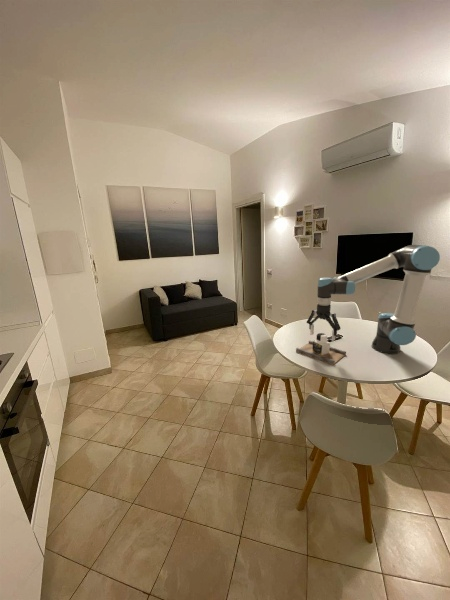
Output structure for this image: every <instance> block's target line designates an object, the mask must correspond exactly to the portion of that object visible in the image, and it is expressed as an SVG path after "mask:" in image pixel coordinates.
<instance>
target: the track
mask: <svg viewBox="0 0 450 600" xmlns="http://www.w3.org/2000/svg"><path fill="white" fill-rule="evenodd" d="M313 341H314V340H308V342H307V344H305V345H302V347H300V348H299V347H296V348H295V351H296V352H297V353H298V354H299V353H300V354H303V355H305V356H308V357H311V358H314V359H316V360H319V361H322V362H324V363H327V364H329V365H333V366H334V365H335V364H337V362H339V361H340V360H341V359H343V358H344V357H345V356H346V355H347V351H345V350H342V349H339V348H335V347H331V346H330V350H329V353H328V354H325V355H322V356H321V355H319V354H317V353H315V352H313Z"/></svg>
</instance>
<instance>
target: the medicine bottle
mask: <svg viewBox="0 0 450 600" xmlns="http://www.w3.org/2000/svg"><path fill="white" fill-rule="evenodd" d="M312 341H313V352H315V353H317V354H319V355H321V356H322V355H325V354H328V353H329V350H330V347H331V342H329V341H328V334H326V333H323V332H321V333H320V332H319V333H317V334H316V338H315V340H312Z"/></svg>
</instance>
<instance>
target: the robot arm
mask: <svg viewBox="0 0 450 600" xmlns="http://www.w3.org/2000/svg"><path fill="white" fill-rule="evenodd" d="M440 261H441V255H440V252H439V250H437V249H436V248H435V247H433V246H430V245H426V244H423V245H421V244H410V245H407V246H406V245H405V246H404V247H401V248H399V249H397V250H395V251H393V252H390V253H389V254H388V255H387V256H385V257H383V258H381V259H378V260H376V261H373V262H371V263H369V264H366V265H364V266H362V267H360V268H356V269H355V270H353V271H350V272H347V273H345V274H342V275H341V276H340V275H339V276H334V277H333V278H332V277H319V279H318V280H317V281H318V282H317V294H316V295H317V296H316V297H317V298H316V300H317V301H316V309H313V310H311V313H310V316H308V319H307V321H306V324H307V325H308V328H309V331H310V333H309V334H310V336H312V335H314V332H315V331H314V330H315V328H314V327H315V324H314V323H315V322H316V321H317V320H318V319H320V320H325V321H326V322H328V324H329V325H330V327H331V329H332V330H331V342H334V341H335V340H336V336H337V335H338V331H340V330H341V326H340V323H339V321H338V318H337V316H336V315H337V314H336V313H335V312H333V313H331V307H332V305H331V303H332V295H347V296H348V295H353V294H355V291H356V284H358V283H361V282H362V281H366V280H368V279H370V278H373V277H375V276H377V275H379V274H382V273H385V272H388V271H390V270H392V269H396V270H397V269H399V268H403V269H402V271H403V272H404V274H405V275H404V278H403V281H402V285H401V289H400V293H399V297H398V300H397V304H396V306H395V307H396V308H395V310H394V312H393V313H392V312H382V313H380V314H379V315H378V318H377V319H378V320H377V327H376V335H375V336H374V338H373V341H372V343H371V348H372V349H374V350H375V351H377V352H380V353H383V354H390V355H391V354H392V355H394V354H395V355H397V354H398V353H400V352H401V346H407V345H409V344H411V343H413V342H414V340H415V339H416V337H417V334H416V331H415V329H414V328H415V325H416V322H415V320H414V316H415V312H416V310H417V306H418V303H419V300H420V297H421V293H422V290H423V286H424V283H425V278H426V276H428V275H430V274H431V272H432V270H433V268H435V267H437V265H439V262H440ZM315 314H316V316H315ZM314 316H315V317H314Z"/></svg>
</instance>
